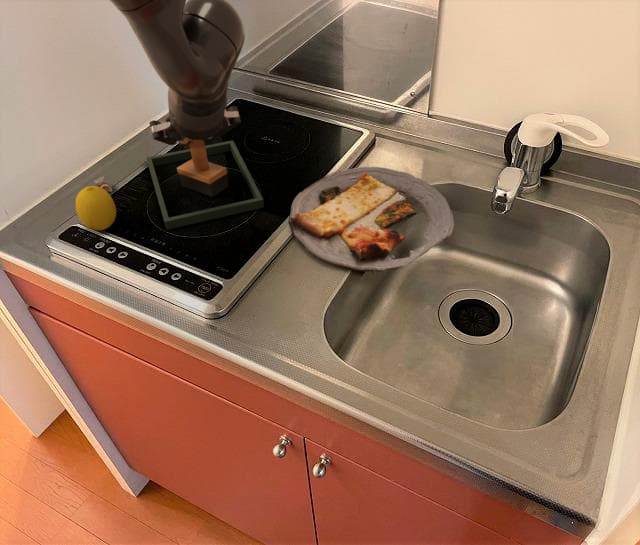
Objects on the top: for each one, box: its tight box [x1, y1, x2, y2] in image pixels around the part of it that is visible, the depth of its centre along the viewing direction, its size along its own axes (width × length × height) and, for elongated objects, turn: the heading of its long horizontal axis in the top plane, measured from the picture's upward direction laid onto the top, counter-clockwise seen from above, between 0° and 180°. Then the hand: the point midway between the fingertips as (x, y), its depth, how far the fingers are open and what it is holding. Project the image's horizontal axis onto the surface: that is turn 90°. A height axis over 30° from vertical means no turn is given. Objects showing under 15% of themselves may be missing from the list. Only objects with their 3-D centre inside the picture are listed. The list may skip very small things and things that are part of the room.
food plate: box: [287, 166, 455, 274], centre depth 88 cm, size 25×23×4 cm
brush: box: [176, 140, 229, 198], centre depth 92 cm, size 7×4×12 cm, turn 57°
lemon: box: [75, 185, 117, 231], centre depth 86 cm, size 6×6×8 cm
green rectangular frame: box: [146, 140, 265, 230], centre depth 96 cm, size 20×16×2 cm
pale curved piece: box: [93, 176, 113, 193], centre depth 94 cm, size 3×2×4 cm
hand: (194, 140), depth 93 cm, fingers closed on brush, 2 cm apart
